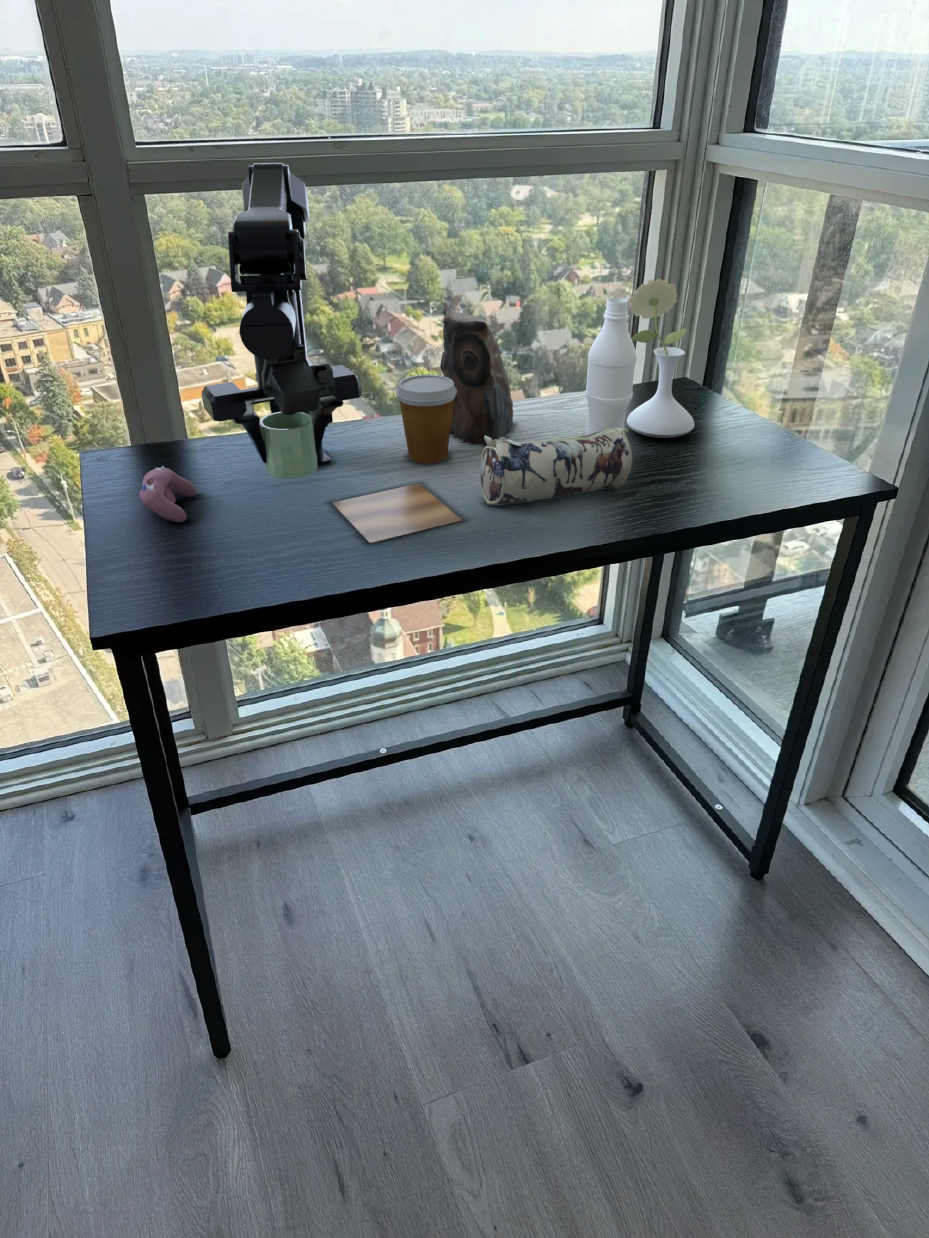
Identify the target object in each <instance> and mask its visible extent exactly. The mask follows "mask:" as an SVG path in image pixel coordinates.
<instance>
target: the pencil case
mask: <svg viewBox="0 0 929 1238" xmlns="http://www.w3.org/2000/svg"><path fill="white" fill-rule="evenodd" d="M623 431H625V433H629V429H628V428H625V427H624V428H618V427H615V428H609V429H606V430H603V431H599V432H596V433H593V434H590V435H587V436H586V435H585V434H583V435H575V436H567V437H558V438H551V439H544V440H543V439H542V440H541V439H540V440H528V441H514V440H512V439H507V438H506V437H505V436H504V437H501V438H500V439H499V440H493V441H492V438H490V437H487V436H486V435H485V437H484V439H485V441H486V443H487V445H488V446H485V447H484V448H483V450H482V453H481V457H480V465H479V466H480V467H479V483H480V484H479V486H480V490H481V493H482V496H483V498H484V500H485V501H486V504H488V505H489V506H502V505H513V504H523V503H530V502H534V501H538V500H539V501H540V500H549V499H556V498H562V497H567V496H574V495H577V494H583V493H589V492H594V491H598V490H602V489H604V490H605V489H606V490H607V489H609V490H611V489H612V490H613V489H618V488H621V487H622V486H623V485H624V484H625V483H626V482H627V480H628V478H629V475H630V474H631V470H632V466H633V453H632V448H631V444H630V442H629V439H628V438H627V436H626V434H625V435H624V434H622V433H623Z"/></svg>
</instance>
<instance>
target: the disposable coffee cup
mask: <svg viewBox="0 0 929 1238" xmlns="http://www.w3.org/2000/svg"><path fill="white" fill-rule="evenodd" d="M456 394H457V389H456V388H455V386H454V382H453V380H451V379H450V378H447V377H444V375H438V374H417V375H411V376H406V377H404V378H402V379H400V380H399V382H398V385H397V388H396V389H395V395H396V397H397V399H398V401H399V407H400V412H401V413H400V414H401V418H402V424H403V430H404V436H405V442H406V448H407V454H408V458H409V459H410V460H411V461H413V462H415V463H418V464H436V463H440V462H443V461H445V460H446V459H447V458H448V456H449V445H450V437H451V434H450V429H451V420H452V411H453V403H454V398H455V395H456Z"/></svg>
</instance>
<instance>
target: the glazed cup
mask: <svg viewBox="0 0 929 1238" xmlns="http://www.w3.org/2000/svg"><path fill="white" fill-rule="evenodd" d="M260 429H261V433H262V437H263V441H264V446H265V450H266V456H267V463H264V467H265V471H266V473H267V474H268V475H269V476H271V477H272V478H273V477H274V478H277V479H285V480H288V479H289V480H290V479H291V480H292V479H299V478H304V477H307V476H310V475H311V474H314V473H315V472H316V471H317V470H318V467H319V465H317V452H316V442H315V432H314V423H313V417H312V416H311V415H310V414H307V413H304V412H298V413H295V414H294V415H285V414H283V413H281V412H276V413H272V414H271V413H270V414H267V415H264V416H263V417H262V418H260Z"/></svg>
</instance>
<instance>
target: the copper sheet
mask: <svg viewBox="0 0 929 1238" xmlns="http://www.w3.org/2000/svg"><path fill="white" fill-rule="evenodd" d="M331 504H332V505H333V506H334V507H335V508H336V509H337V510H338V511H339V512H340V514H342V516H343V517H345V518H346V520H347V521H348V522H349V523H350V524H351V525H352V526H353V528H354V529H356V530H357V532H358V533H359V534H360V535H361V536H362V537H363V538H364V539H365V540H366V541H367V543H369V544H374V543H378V542H381V541H386V540H389V539H390V540H391V539H394V538H399V537H402V536H406V535H410V534H414V533H419V532H422V531H426V530H427V531H428V530H430V529H434V528H438V527H443V526H447V525H451V524H454V523H458V522H463V519H462V518H460V516H458V515H457V514H456V513H454V511H452V510H451V509H450V508H449V507H448V506H447V505H445V504H444V503H443V502H442V501H441V500H439V499H438V498H437V497H436V496H435V495H433V494H432V493H431V492H430V491H429V490H427V489H426V488H425V487H424V486H423V485H421V483H420V482H419V483H414V484H410V485H405V486H401V487H397V488H391V489H386V490H382V491H378V492H374V493H370V494H365V495H360V496H356V497H350V498H347V499H342V500H337V501H333V502H331Z"/></svg>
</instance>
